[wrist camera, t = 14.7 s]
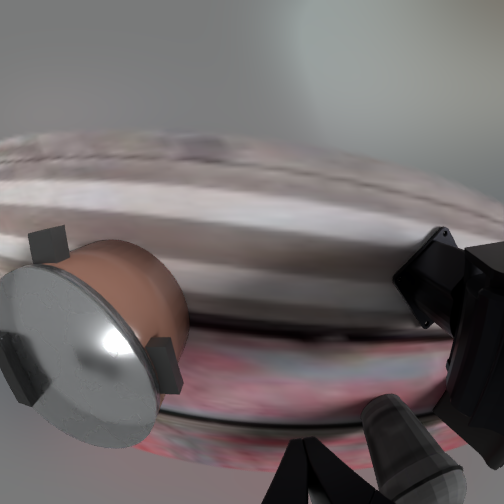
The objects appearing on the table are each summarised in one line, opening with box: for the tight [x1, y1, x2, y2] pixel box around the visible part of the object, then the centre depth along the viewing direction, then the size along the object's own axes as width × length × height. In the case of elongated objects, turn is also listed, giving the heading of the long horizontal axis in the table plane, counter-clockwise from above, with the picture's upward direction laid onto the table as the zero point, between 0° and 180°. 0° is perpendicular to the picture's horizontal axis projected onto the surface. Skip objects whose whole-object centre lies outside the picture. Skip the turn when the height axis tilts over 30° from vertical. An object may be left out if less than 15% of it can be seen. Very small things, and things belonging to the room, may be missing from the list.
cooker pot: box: [28, 225, 189, 409], centre depth 17 cm, size 13×16×8 cm
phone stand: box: [433, 390, 504, 470], centre depth 17 cm, size 9×6×12 cm, turn 74°
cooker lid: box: [0, 264, 160, 448], centre depth 12 cm, size 12×12×2 cm
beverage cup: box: [361, 394, 467, 504], centre depth 13 cm, size 7×7×20 cm
